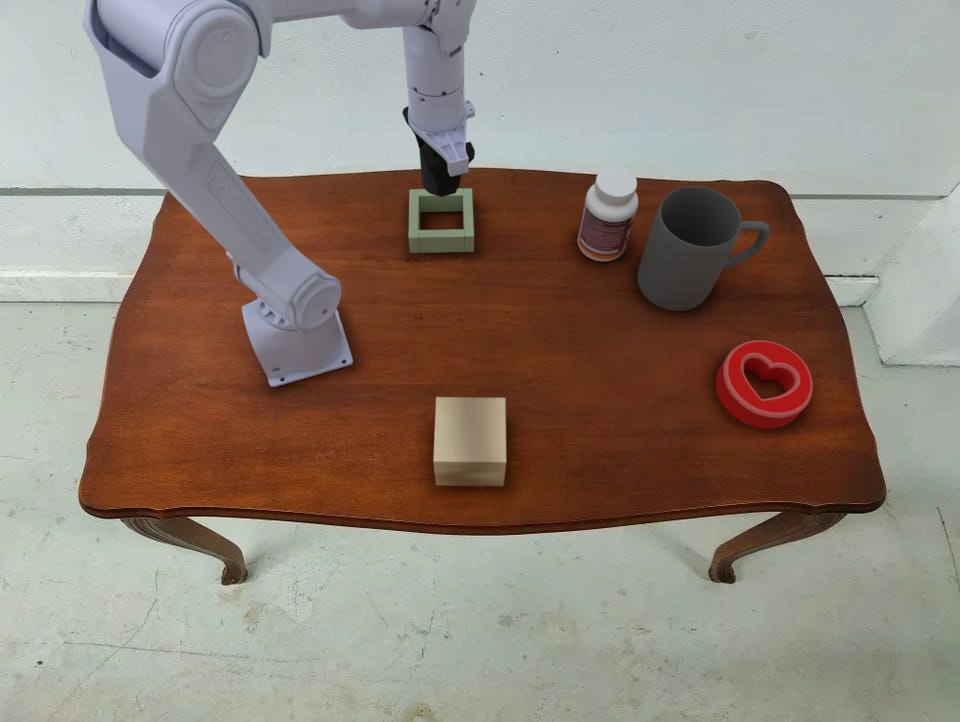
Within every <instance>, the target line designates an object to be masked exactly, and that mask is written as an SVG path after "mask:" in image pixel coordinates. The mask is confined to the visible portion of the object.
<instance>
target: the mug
mask: <svg viewBox="0 0 960 722" xmlns="http://www.w3.org/2000/svg"><path fill="white" fill-rule="evenodd" d="M746 231H747V232H749V231H751V232H752V231H758V235H757V237H756V239H755V241H754V242H753V243H752V244H751V245H750V246H749V247H747V248H746V249H744V250H743V251H741V252H738V253H737V254H735V255H733V256H731V257H730V255H731V253H732V250H733V248H734V246H735V244H736V242H737V240H738V238H739V235H740V233H741V232H746ZM770 234H771V228H770V226H769V224H768V223H766V222H765V221H760V220H748V221H746V220H743V221H742V215H741V212H740V210H739V208H738V207H737V206H736V204H735V203H734V202H733V200H731V199H730V198H729V197H728V196H727V195H725V194H723V193H721V192H720V191H717V190H716V189H712V188H709V187H705V186H698V185H687V186H682V187H679V188H675V189H674V190H672V191H671V192H669V193H668V194H667V195H666V196H665V197H664V198H663V200H662V201H661V203H660V204H659V206H658V209H657V212H656V214H655V217H654V219H653V223H652V226H651V228H650V231H649V234H648V237H647V240H646V243H645V246H644V249H643V252H642V255H641V258H640V262H639V265H638V270H637V284H638V287H639V290H640V291H641V293H642V295H643V296H644V297H645V298H646V300H648V301H649V302H650V303H652V305H655V306H656V307H659V308H661V309H663V310H667V311H672V312H685V311H690V310H693V309H694V308H697V307H699V306H700V305H701V304H703V303H704V302H705V301H706V300H707V298H708V297H709V295H710V293H711V292H712V289H714V287H715V284H716V282H717V281H718V279H719V277H720V275H721V273H722V271H723V270H728V269H730V268H734V267H735V266H737V265H740V264H742V263H744V262H746V261H748V260H750V259H751V258H753V257H755V256H756V255H757V254H758V253H760V252H761V250H762V249H763V248H764V247H765V245H766V244H767V242H768V240H769V238H770Z"/></svg>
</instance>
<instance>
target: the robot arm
mask: <svg viewBox="0 0 960 722" xmlns="http://www.w3.org/2000/svg"><path fill="white" fill-rule="evenodd" d="M477 2H478V0H86V3H85V8H84V13H83V17H82V18H83V19H82V23H81V25H82V28H83V30H84V31H85V33H86V34H85V35H86V36H87V38H88V39H89V41H90V43H91V45H92V47H93V49H94V50H95V53H96V55H97V57H98V58H99V59H98V60H99V62H100V66H101V71H102V75H103V79H104V80H103V81H104V84H105V89H106V93H107V97H108V102H109V106H110V111H111V115H112V119H113V124H114V128H115V133H116V136H117V137H118V138H119V140H120V141H121V143H122V144H123V145H124V146H125V147H126V148H127V149H128V151H130V152H131V154H133V156H134V157H135V158H136V159H137V160H138V161H139V162H140V163H141V164H142V165H143V166H144V167H145V168H146V169H147V170H148V171H149V172H150V173H151V174H152V175H153V177H155V178H156V179H157V180H158V181H159V182H160V183H161V185H162V186H163V187H164V188H165V189H166V190H167V191H168V192H169V193H170V194H171V195H172V196H173V197H174V198H175V199H176V200H177V202H179V203H180V205H182V206H183V208H185V210H187V212H188V213H189V214H190V215H191V216H192V217H193V218H194V219H195V220H196V221H197V222H198V223H199V224H200V225H201V226H202V227H203V228H204V229H205V230H206V231H207V232H208V233H209V234H210V235H211V236H212V237H213V239H214V240H216V241H217V243H218V244H220V246H221V247H222V248H223V249H224V250H225V251H226V252H225V255H226V257H228V258H229V259H230V260H231V262H232V265H233V274H234V276H235V279H236V280H237V282H239V283H240V284H241V285H242V286H245V287H247V288H249V289H250V291H252V292H253V293H254V294H255V296H256V297H257V298H256V299H254V300H253V301H251V302H248V303H246V304H243V305H242V306H241V312H242V316H243V318H242V319H243V321H244V326H245V329H246V332H247V336H248V338H249V342H250V344H251V347H252V350H253V352H254V354H255V356H256V358H257V360H258V362H259V364H260V365H261V368H262V370H263V372H264V374H265V376H266V378H267V381H268V384H269V386H270V387H271V388H277V387H281V386H285V385H287V384H291V383H294V382H298V381H301V380H305V379H308V378H311V377H316V376H318V375H322V374H325V373H327V372H332V371H335V370H339V369H342V368H345V367H350V366H352V365H353V364H354V359H353V356H352V352H351V349H350V347H349V343H348V339H347V336H346V333H345V330H344V327H343V323H342V320H341V318H340V314H339V311H338V307H339V305H340V302H341V297H342V283H341V282H340V280H339V279H338V278H337V277H336V276H334V275H331V274H329V273H328V272H326V271H325V270H324V269H322V268H321V267H320V266H319V265H317V264H316V263H315V262H314V261H312V260H311V259H309V258H308V257H307V256H305V255H304V254H303V253H302V252H301V251H299V250H298V248H296V246H294V244H292V243H291V241H290V240H289V238H288V237H287V236H286V235H285V233H284V232H283V231H282V230H281V228H280V227H279V226H278V224H276V222H275V220H274V219H273V218H272V217H271V216H270V214H269V213H268V212H267V210H266V209H265V208H264V207H263V205H262V204H261V203H260V202H259V200H258V199H257V197H256V196H255V195H254V193H252V191H251V190H250V189H249V187H248V186H247V185H246V183H245V182H244V181H243V180H242V178H241V176H240V175H239V174H238V173H237V172H236V170H235V169H234V168H233V167H232V166H231V164H230V162H229V161H228V160H227V159H226V158H225V156H224V155H223V153H221V151H220V150H219V148H217V147H218V146H216V145H215V142H216V141H217V139H218V137H219V135H220V134H221V132H222V131H223V128H224V127H225V125H226V124H227V121H228V119H229V117H230V116H231V114H232V113H233V110H234V109H235V107H236V106H237V103H238V102H239V100H240V98H241V97H242V95H243V93H244V92H245V89H246V88H247V86H248V84H249V82H250V81H251V78H252V76H253V74H254V71H255V69H256V67H257V64H258V59H259V57H261V58H262V59H264V60H265V59H267V58H268V57H269V56H270V54H271V48H272V47H271V46H272V32H273V25H274V24H279V23H287V22H295V21H303V20H309V19H311V20H312V19H319V18H326V17H332V16H339V18H340V19H341V20H342V22H344V24H346V26H348V27H350V28H352V29H355V30H360V31H361V30H377V29H393V28H401V30H402V31H401V32H402V42H403V52H404V63H405V64H404V65H405V74H406V75H405V76H406V86H407V87H406V88H407V98H408V99H407V100H408V105H407V106H405V107H404V108H403V109H402V111H401V112H402V113H401V114H402V116H403V118H404V121H405V123H406V125H407V126H408V127H409V128H410V130H411V131H412V133H413V134H414V136H415V137H414V138H415V140H416V142H417V146H418V149H419V151H418V152H419V156H420V155H421V157H422V160H423V162H424V164H425V166H426V167H427V169H428V170H429V171H430V172H431V174H432V177H433V182H434V185H435V188H436V191H437V193H438V195H439V197H443V196H447V195H451V194H455V193H456V191H457V189H458V186H459V182H460V179H462V176H463V174H467V173H469V172H470V169H469V168H470V164H471V162H473V161H474V159H475V157H476V151H475V147H474V145H473V144H472V142H471V141H467V121H468V119H472V118H474V117H475V116H476V108H475V106H474V104H473V102H472V101H471V100H469V99H465V43H467V41H468V36H469V35H470V23H471V20H472V15H473V13H474V11H475V8H476V5H477ZM425 143H427V144H429V145H430V146H431V147H430V148H426V149H422V150H420V149H421V147H422V146H423V145H424V144H425ZM459 187H460V186H459Z"/></svg>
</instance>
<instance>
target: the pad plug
mask: <svg viewBox="0 0 960 722" xmlns="http://www.w3.org/2000/svg"><path fill="white" fill-rule="evenodd" d="M430 147H431V146H430V145H429V144H427V143H425V144H424V145H423V146H422V147H421V149H420V150H422V149H426V148H430ZM419 161H420V162H419V163H420V164H419V165H420V174H421V175H420V177H421V185H422V187H423V189H425V190H426V191H427V192H429V193H430V194H433V195H436V196H439V195H438V193H437V191H436V188H435V185H434V182H433V177H432V174H431V172H430V171H429V170H428V169H427V167H426V166H425V164H424V162H423V160H422V157H421V155H420V154H419ZM461 179H462V178H461ZM461 179H460V182H459V186H458V188H460V186H461V183H462V182H461Z"/></svg>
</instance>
